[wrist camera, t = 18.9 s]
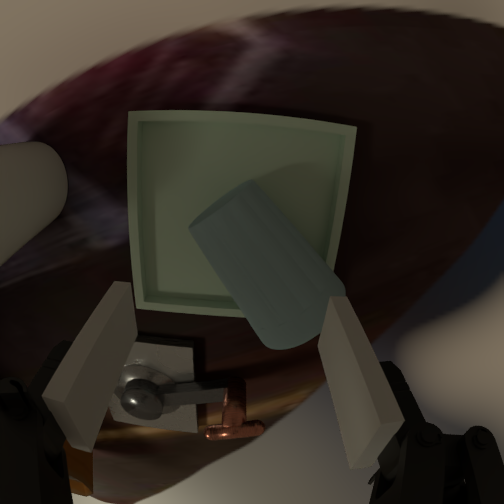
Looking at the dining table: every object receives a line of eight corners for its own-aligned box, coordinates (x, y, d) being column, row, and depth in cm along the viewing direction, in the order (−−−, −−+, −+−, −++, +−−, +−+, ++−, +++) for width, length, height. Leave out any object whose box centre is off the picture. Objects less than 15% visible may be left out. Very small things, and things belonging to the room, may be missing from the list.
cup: (259, 167, 24) (327, 267, 27) (182, 224, 25) (256, 316, 28) (274, 170, 17) (361, 304, 20) (166, 250, 18) (267, 366, 21)
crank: (136, 406, 34) (123, 451, 27) (118, 379, 32) (100, 426, 25) (266, 393, 33) (270, 445, 26) (257, 364, 31) (260, 419, 24)
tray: (142, 295, 29) (136, 308, 27) (137, 111, 22) (128, 111, 20) (317, 307, 30) (322, 320, 28) (347, 126, 23) (356, 126, 21)
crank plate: (116, 414, 37) (113, 421, 36) (89, 327, 31) (85, 334, 29) (198, 426, 38) (197, 433, 36) (193, 340, 31) (192, 349, 30)
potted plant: (98, 410, 37) (45, 588, 9) (132, 467, 44) (107, 601, 17) (12, 388, 37) (-54, 523, 9) (55, 448, 44) (17, 562, 17)
